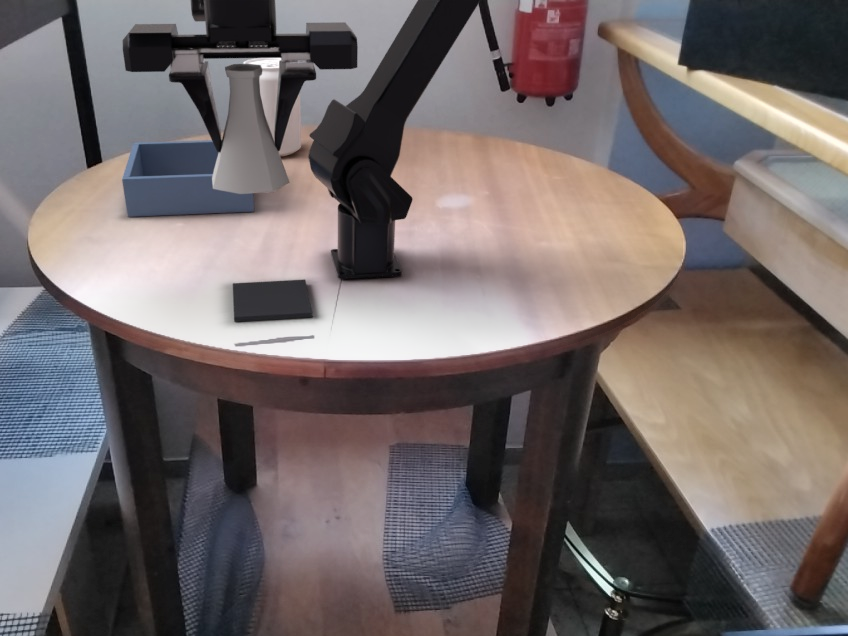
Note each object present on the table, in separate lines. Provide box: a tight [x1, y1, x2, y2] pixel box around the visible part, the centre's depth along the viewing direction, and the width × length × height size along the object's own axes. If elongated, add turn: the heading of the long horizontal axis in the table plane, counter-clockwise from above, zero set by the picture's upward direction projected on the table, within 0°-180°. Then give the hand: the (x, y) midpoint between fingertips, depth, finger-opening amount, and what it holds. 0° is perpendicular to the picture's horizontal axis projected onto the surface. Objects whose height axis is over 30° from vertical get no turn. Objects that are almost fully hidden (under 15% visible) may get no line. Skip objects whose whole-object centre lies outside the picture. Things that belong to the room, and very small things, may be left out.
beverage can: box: [242, 58, 302, 157], centre depth 111 cm, size 8×8×12 cm
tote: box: [121, 139, 255, 218], centre depth 97 cm, size 15×15×4 cm
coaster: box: [232, 279, 313, 323], centre depth 74 cm, size 7×7×1 cm
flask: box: [212, 63, 291, 194], centre depth 69 cm, size 7×7×10 cm
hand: (249, 150), depth 70 cm, fingers closed on flask, 5 cm apart
